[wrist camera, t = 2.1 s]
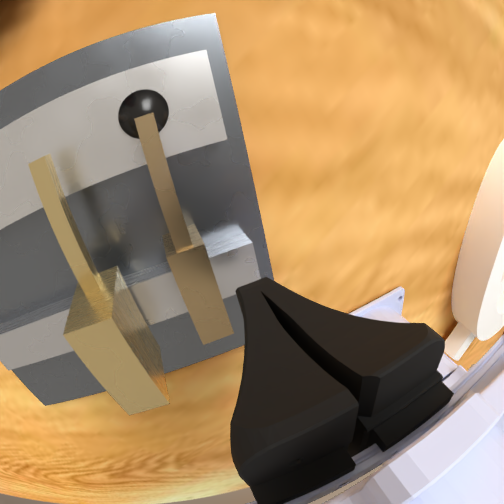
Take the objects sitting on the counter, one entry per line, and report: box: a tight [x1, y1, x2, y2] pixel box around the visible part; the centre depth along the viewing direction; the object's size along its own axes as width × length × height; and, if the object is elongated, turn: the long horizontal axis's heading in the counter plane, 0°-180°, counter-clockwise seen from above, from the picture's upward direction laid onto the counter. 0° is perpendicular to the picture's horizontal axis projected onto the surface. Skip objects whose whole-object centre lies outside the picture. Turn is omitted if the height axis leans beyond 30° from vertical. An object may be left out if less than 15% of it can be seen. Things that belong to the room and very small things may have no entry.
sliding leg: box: [28, 154, 170, 415], centre depth 10 cm, size 10×2×4 cm, turn 12°
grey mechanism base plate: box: [0, 13, 274, 406], centre depth 12 cm, size 18×18×3 cm
